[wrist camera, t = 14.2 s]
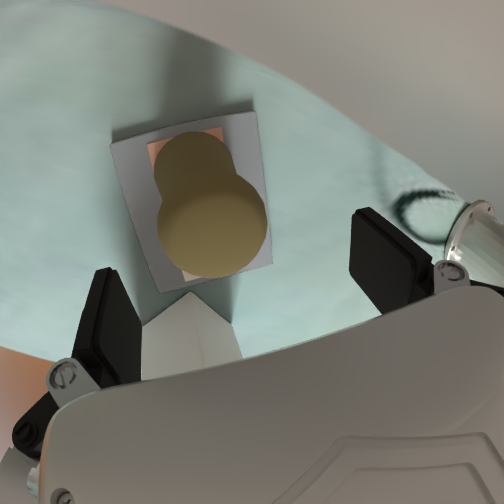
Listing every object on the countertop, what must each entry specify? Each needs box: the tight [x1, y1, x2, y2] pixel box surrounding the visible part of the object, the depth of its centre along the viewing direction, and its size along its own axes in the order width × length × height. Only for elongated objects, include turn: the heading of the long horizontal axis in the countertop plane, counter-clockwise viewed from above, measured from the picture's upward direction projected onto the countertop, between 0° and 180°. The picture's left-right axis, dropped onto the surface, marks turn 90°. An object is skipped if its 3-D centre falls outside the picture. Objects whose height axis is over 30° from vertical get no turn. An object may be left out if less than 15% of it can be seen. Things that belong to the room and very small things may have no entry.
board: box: [110, 110, 273, 294], centre depth 24 cm, size 11×14×1 cm
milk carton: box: [141, 292, 243, 381], centre depth 23 cm, size 7×7×19 cm
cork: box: [154, 132, 268, 278], centre depth 17 cm, size 6×6×11 cm
